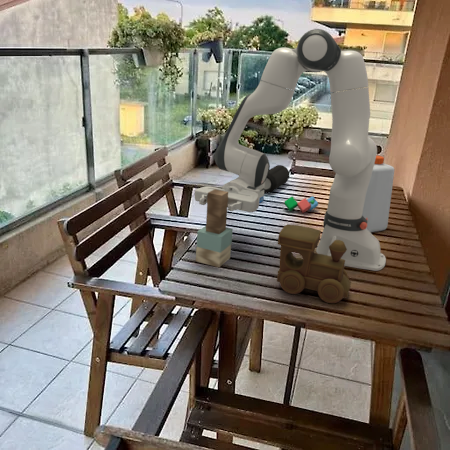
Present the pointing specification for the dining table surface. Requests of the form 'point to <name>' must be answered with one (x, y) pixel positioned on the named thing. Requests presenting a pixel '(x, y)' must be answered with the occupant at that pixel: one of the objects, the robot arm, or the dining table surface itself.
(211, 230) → the walnut post
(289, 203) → the building blocks
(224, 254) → the lower block
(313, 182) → the dining table surface
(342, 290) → the wooden toy train
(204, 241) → the upper block
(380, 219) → the plastic bottle
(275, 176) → the portable speaker
